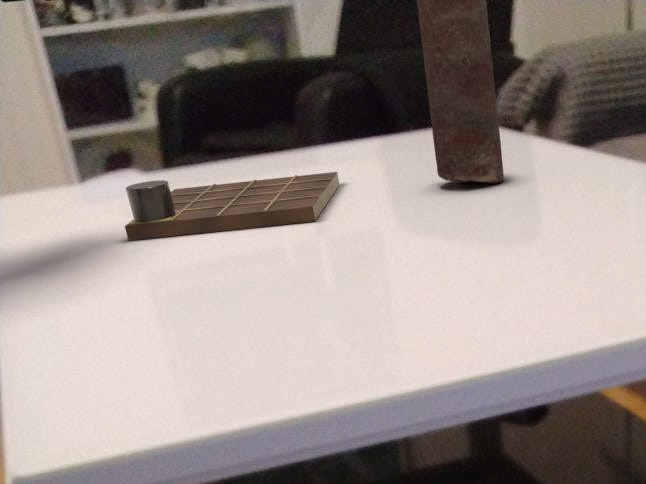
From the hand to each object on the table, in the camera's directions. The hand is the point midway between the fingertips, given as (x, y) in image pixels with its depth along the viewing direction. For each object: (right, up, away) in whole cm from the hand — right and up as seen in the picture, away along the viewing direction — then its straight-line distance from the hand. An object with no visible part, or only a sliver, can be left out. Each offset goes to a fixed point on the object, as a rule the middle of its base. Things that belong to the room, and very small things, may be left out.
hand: (40, 0), depth 94 cm
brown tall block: (+40, -8, +21) cm, 45 cm away
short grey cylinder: (+6, -14, +14) cm, 21 cm away
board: (+14, -11, +21) cm, 27 cm away
